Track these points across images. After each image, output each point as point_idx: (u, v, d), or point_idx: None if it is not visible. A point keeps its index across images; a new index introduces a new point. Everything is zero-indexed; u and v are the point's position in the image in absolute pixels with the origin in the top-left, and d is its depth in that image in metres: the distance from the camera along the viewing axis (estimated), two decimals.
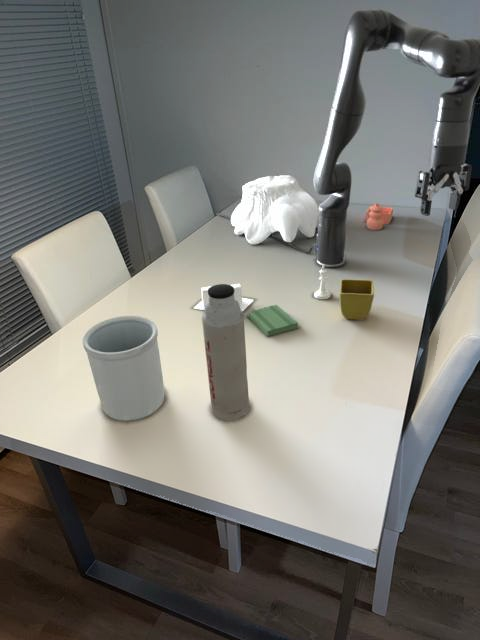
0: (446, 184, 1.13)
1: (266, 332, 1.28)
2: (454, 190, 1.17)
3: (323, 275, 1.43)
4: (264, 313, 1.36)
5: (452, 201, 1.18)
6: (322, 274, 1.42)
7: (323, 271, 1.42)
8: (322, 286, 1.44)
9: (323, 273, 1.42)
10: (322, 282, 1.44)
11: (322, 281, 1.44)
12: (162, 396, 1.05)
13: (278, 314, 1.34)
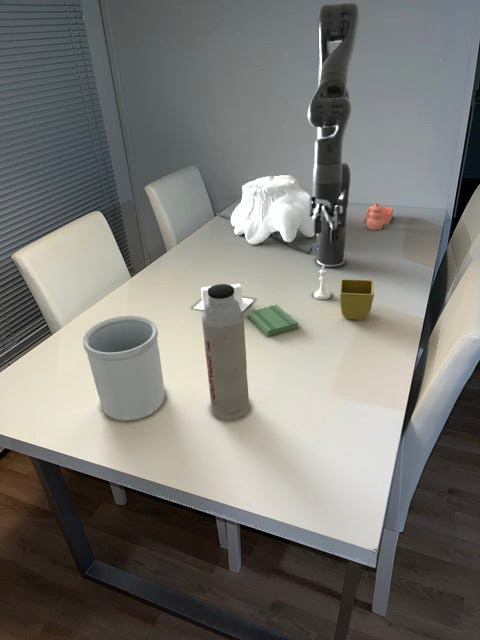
0: (322, 214, 1.34)
1: (266, 332, 1.28)
2: None
3: (323, 275, 1.43)
4: (264, 313, 1.36)
5: None
6: (322, 274, 1.42)
7: (323, 271, 1.42)
8: (322, 286, 1.44)
9: (323, 273, 1.42)
10: (322, 282, 1.44)
11: (322, 281, 1.44)
12: (162, 396, 1.05)
13: (278, 314, 1.34)
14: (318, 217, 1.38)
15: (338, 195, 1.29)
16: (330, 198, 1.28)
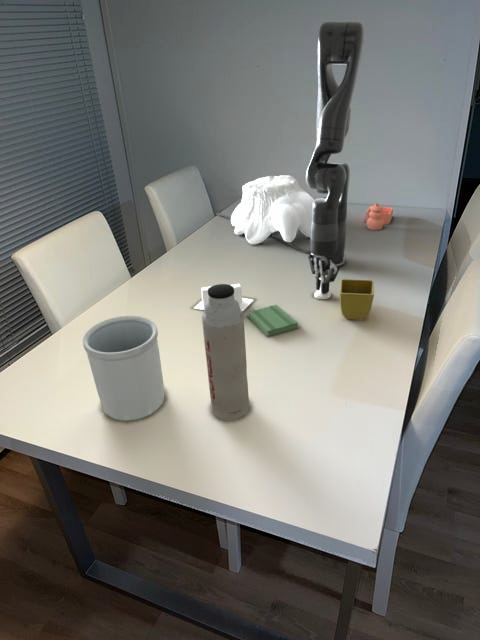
0: (319, 267, 1.42)
1: (266, 332, 1.28)
2: None
3: None
4: (264, 313, 1.36)
5: None
6: None
7: None
8: None
9: None
10: None
11: None
12: (162, 396, 1.05)
13: (278, 314, 1.34)
14: (320, 275, 1.45)
15: (334, 251, 1.37)
16: (326, 254, 1.36)
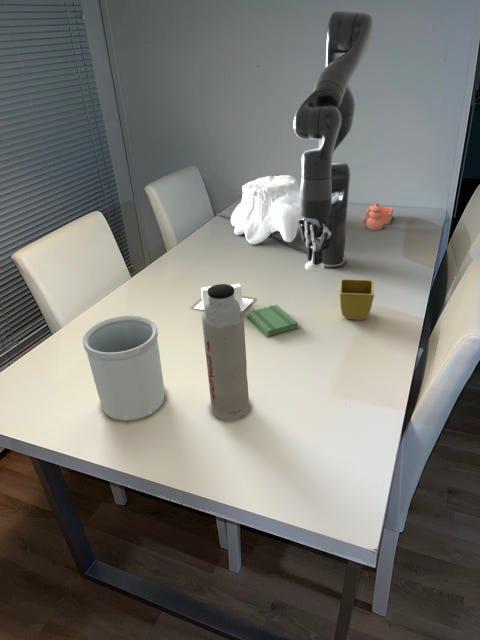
0: (311, 233, 1.22)
1: (266, 332, 1.28)
2: None
3: None
4: (264, 313, 1.36)
5: None
6: None
7: None
8: None
9: None
10: None
11: None
12: (162, 396, 1.05)
13: (278, 314, 1.34)
14: (312, 243, 1.25)
15: (328, 213, 1.17)
16: (319, 217, 1.16)
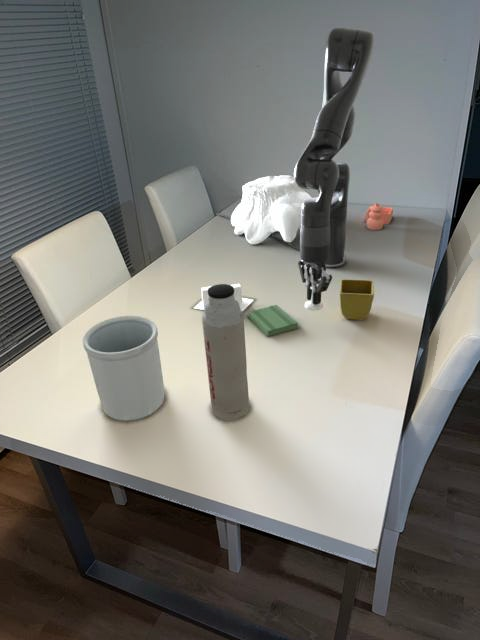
0: None
1: (266, 332, 1.28)
2: None
3: None
4: (264, 313, 1.36)
5: None
6: None
7: None
8: None
9: None
10: None
11: None
12: (162, 396, 1.05)
13: (278, 314, 1.34)
14: None
15: (326, 258, 1.23)
16: (318, 261, 1.22)
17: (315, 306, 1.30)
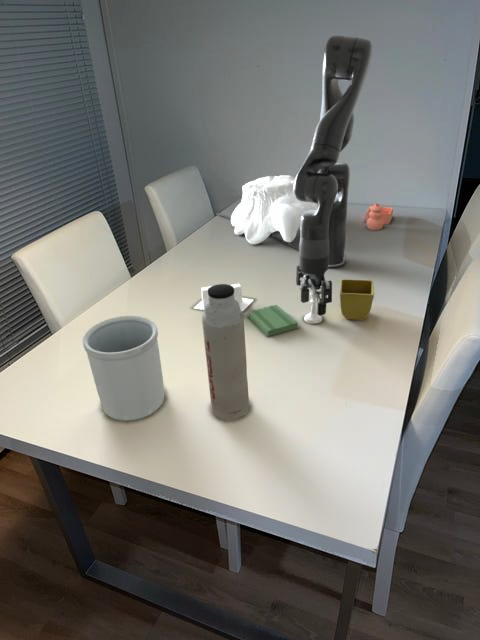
0: (309, 286, 1.29)
1: (266, 332, 1.28)
2: None
3: (314, 297, 1.30)
4: (264, 313, 1.36)
5: None
6: (313, 296, 1.30)
7: None
8: (313, 309, 1.32)
9: None
10: (313, 305, 1.32)
11: (313, 304, 1.32)
12: (162, 396, 1.05)
13: (278, 314, 1.34)
14: (305, 286, 1.34)
15: (325, 269, 1.24)
16: (317, 273, 1.23)
17: (315, 319, 1.32)
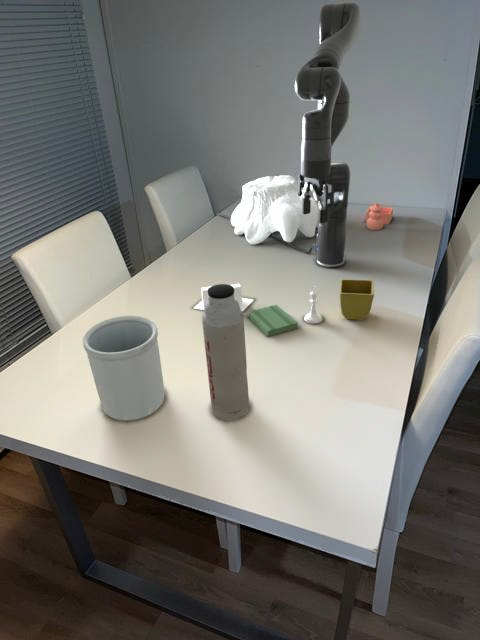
0: (311, 193, 1.27)
1: (266, 332, 1.28)
2: None
3: (314, 297, 1.30)
4: (264, 313, 1.36)
5: None
6: (313, 296, 1.30)
7: (314, 293, 1.30)
8: (313, 309, 1.32)
9: (314, 295, 1.30)
10: (313, 305, 1.32)
11: (313, 304, 1.32)
12: (162, 396, 1.05)
13: (278, 314, 1.34)
14: (307, 197, 1.32)
15: (327, 173, 1.22)
16: (318, 176, 1.22)
17: (315, 319, 1.32)
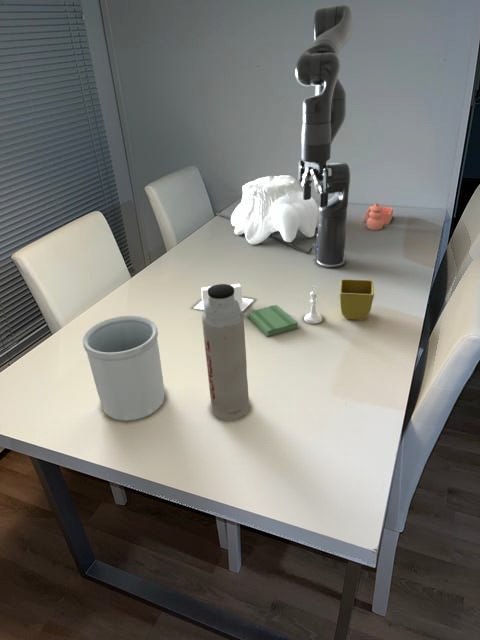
0: (311, 178, 1.30)
1: (266, 332, 1.28)
2: None
3: (314, 297, 1.30)
4: (264, 313, 1.36)
5: None
6: (313, 296, 1.30)
7: (314, 293, 1.30)
8: (313, 309, 1.32)
9: (314, 295, 1.30)
10: (313, 305, 1.32)
11: (313, 304, 1.32)
12: (162, 396, 1.05)
13: (278, 314, 1.34)
14: (307, 182, 1.35)
15: (327, 157, 1.25)
16: (319, 160, 1.25)
17: (315, 319, 1.32)
